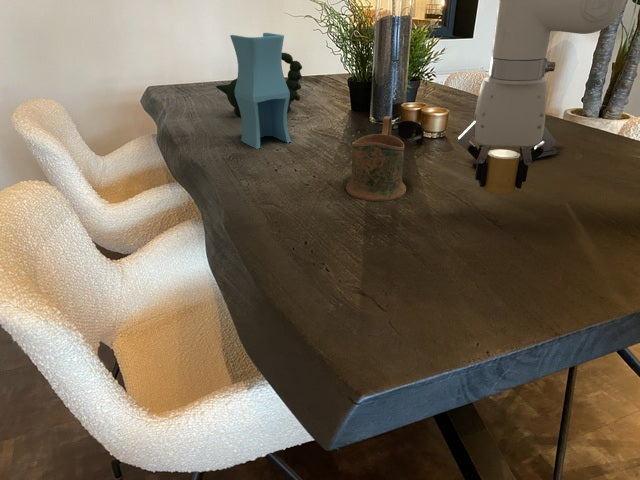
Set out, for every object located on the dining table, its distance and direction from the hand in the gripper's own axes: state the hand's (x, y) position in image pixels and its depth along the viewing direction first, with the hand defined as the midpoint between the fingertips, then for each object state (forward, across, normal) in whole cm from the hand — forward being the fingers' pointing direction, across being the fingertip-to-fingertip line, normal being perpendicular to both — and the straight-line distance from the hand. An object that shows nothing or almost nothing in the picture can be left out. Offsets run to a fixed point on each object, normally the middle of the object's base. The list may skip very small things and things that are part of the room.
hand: (499, 183), depth 81 cm
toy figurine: (+5, +61, -64) cm, 88 cm away
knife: (+6, -9, -32) cm, 34 cm away
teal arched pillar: (+5, +52, -37) cm, 64 cm away
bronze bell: (+6, +21, -12) cm, 25 cm away
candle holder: (+1, 0, 0) cm, 1 cm away
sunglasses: (+6, +19, -39) cm, 44 cm away
